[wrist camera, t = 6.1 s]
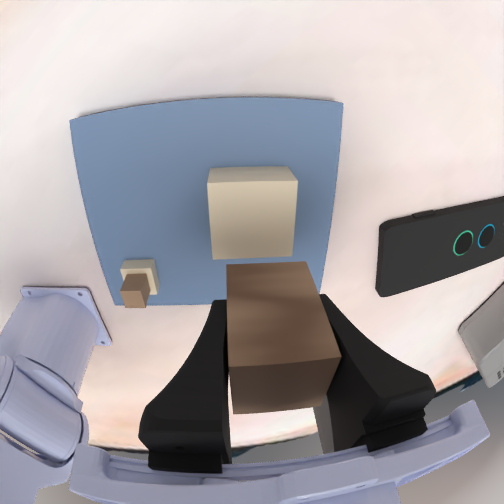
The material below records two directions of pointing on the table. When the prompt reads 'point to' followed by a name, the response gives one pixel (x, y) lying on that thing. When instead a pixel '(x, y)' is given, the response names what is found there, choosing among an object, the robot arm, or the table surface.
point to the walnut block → (277, 338)
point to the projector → (487, 338)
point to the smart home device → (438, 245)
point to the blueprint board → (206, 191)
